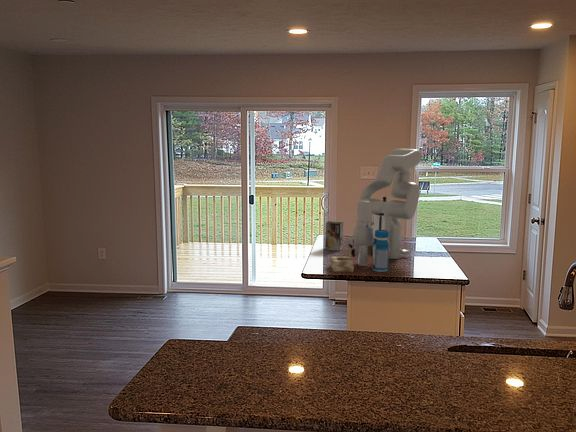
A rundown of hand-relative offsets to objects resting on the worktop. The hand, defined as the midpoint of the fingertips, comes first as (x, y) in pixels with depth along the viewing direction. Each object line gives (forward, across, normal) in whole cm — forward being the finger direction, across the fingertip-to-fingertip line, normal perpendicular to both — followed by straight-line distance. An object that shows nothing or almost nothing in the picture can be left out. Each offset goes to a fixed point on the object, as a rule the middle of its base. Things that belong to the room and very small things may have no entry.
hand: (362, 256), depth 263 cm
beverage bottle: (+4, -7, +10) cm, 13 cm away
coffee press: (+4, -21, -48) cm, 53 cm away
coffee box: (+4, +10, -35) cm, 37 cm away
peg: (+4, 0, 0) cm, 4 cm away
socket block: (+4, +12, +8) cm, 15 cm away
